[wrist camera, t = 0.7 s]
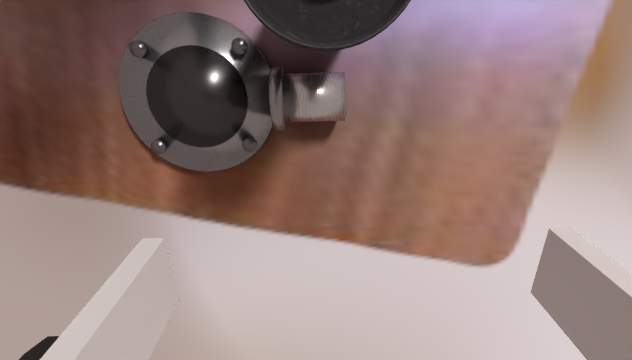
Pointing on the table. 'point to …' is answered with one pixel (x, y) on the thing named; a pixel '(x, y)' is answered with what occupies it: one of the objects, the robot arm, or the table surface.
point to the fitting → (215, 92)
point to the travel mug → (327, 20)
